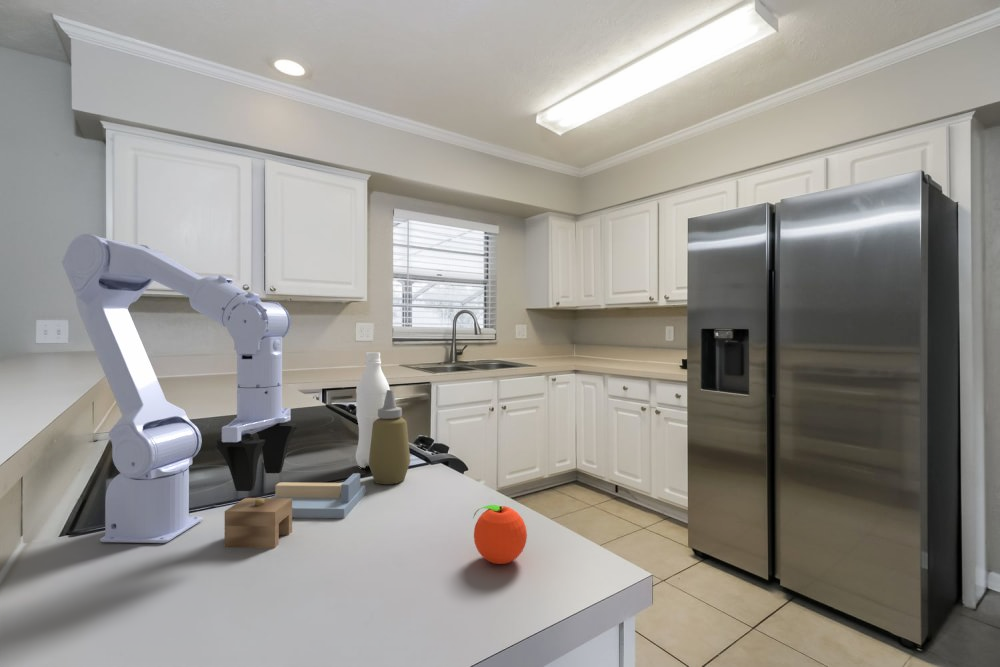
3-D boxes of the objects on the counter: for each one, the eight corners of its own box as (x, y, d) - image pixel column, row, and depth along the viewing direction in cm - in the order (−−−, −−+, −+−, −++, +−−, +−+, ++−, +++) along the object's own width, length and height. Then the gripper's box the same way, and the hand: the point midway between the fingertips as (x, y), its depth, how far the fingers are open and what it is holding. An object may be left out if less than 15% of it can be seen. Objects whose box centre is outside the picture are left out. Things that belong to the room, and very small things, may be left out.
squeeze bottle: (418, 478, 93) (419, 389, 92) (389, 490, 86) (389, 394, 86) (390, 471, 97) (390, 386, 97) (359, 482, 90) (360, 390, 90)
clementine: (456, 561, 59) (456, 507, 59) (487, 541, 65) (487, 491, 65) (507, 581, 55) (508, 521, 55) (536, 557, 61) (536, 504, 61)
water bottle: (349, 470, 97) (349, 353, 97) (364, 461, 105) (365, 351, 104) (381, 472, 96) (381, 353, 96) (394, 463, 103) (395, 352, 103)
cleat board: (256, 517, 73) (256, 489, 73) (289, 492, 84) (289, 468, 84) (344, 518, 73) (344, 489, 73) (365, 493, 84) (365, 469, 84)
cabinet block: (224, 547, 63) (224, 506, 63) (245, 531, 68) (245, 493, 68) (275, 548, 63) (275, 506, 63) (292, 532, 68) (292, 493, 68)
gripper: (260, 392, 58) (260, 499, 58) (309, 380, 73) (309, 466, 73) (205, 392, 58) (205, 499, 58) (265, 380, 73) (265, 465, 73)
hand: (260, 481), depth 65 cm, fingers open, 7 cm apart
